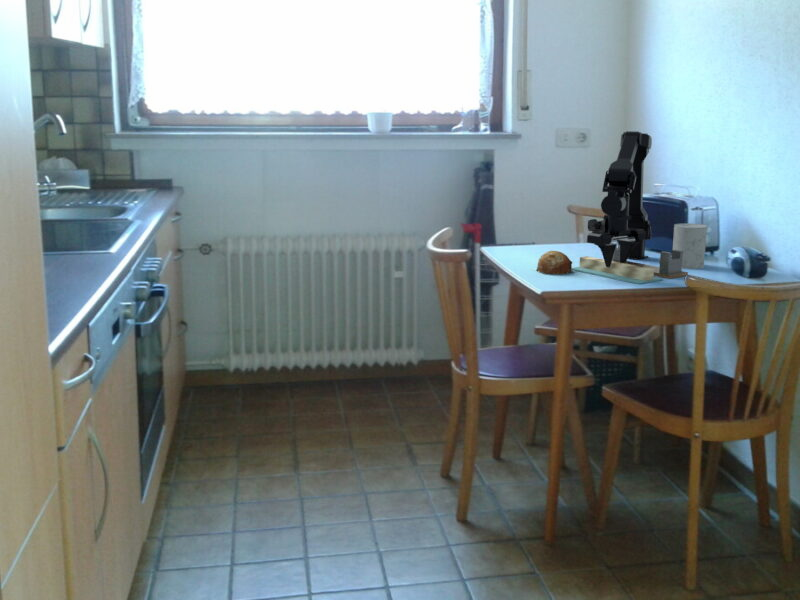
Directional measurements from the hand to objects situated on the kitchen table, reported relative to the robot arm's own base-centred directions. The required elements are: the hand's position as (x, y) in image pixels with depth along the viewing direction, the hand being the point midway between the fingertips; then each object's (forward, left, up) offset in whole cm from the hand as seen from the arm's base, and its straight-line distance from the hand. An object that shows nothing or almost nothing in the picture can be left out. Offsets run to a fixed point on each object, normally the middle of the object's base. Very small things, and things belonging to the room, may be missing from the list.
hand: (615, 266), depth 253 cm
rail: (0, 0, -2) cm, 2 cm away
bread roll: (+10, -14, -3) cm, 18 cm away
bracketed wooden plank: (-12, 0, -2) cm, 12 cm away
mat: (0, 0, -2) cm, 2 cm away
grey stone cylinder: (-29, +3, -3) cm, 29 cm away
